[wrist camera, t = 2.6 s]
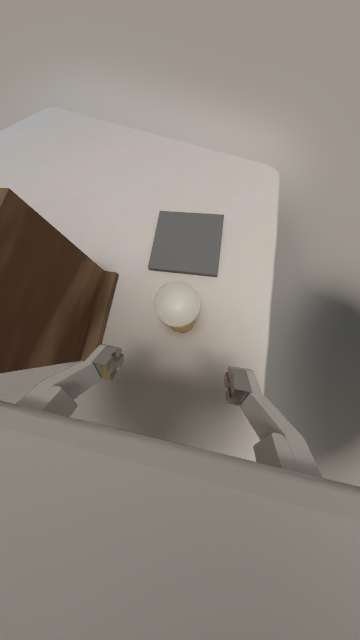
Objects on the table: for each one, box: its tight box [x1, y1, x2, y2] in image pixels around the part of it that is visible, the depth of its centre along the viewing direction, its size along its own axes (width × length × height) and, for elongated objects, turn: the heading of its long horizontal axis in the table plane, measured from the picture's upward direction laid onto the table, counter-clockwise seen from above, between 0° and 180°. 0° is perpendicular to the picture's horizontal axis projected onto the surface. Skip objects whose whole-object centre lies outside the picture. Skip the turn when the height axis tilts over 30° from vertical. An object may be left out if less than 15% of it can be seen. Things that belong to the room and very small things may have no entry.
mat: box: [148, 211, 224, 277], centre depth 21 cm, size 11×11×1 cm
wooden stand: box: [0, 188, 118, 373], centre depth 14 cm, size 5×14×12 cm, turn 172°
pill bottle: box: [154, 281, 201, 333], centre depth 15 cm, size 4×4×8 cm
